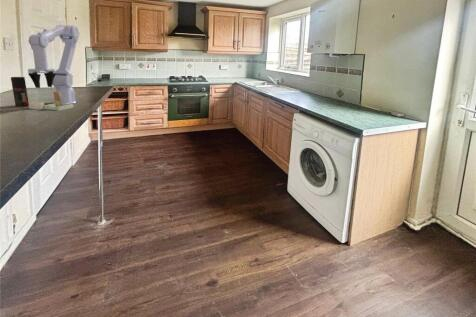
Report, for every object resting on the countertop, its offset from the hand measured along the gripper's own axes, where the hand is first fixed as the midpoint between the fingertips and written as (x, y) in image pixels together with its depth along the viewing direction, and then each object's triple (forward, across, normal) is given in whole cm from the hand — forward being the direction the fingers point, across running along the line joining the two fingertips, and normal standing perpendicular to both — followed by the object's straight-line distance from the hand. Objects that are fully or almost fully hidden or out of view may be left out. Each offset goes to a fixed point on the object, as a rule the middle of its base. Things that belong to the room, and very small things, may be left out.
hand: (43, 87), depth 168 cm
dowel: (+10, 0, -8) cm, 13 cm away
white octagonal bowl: (+10, -5, +1) cm, 12 cm away
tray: (+10, 0, -8) cm, 13 cm away
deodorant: (+11, -4, +11) cm, 16 cm away
